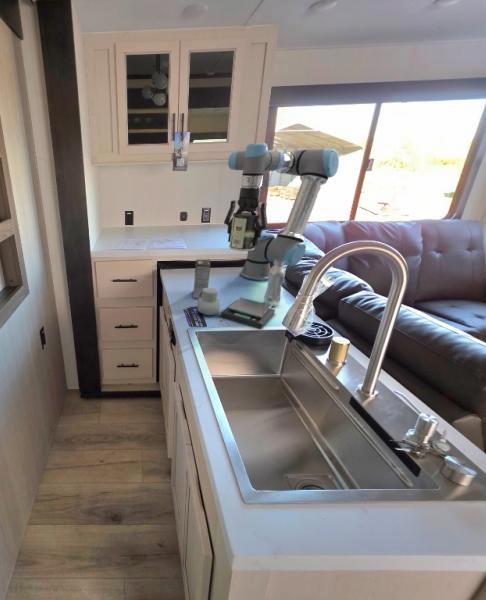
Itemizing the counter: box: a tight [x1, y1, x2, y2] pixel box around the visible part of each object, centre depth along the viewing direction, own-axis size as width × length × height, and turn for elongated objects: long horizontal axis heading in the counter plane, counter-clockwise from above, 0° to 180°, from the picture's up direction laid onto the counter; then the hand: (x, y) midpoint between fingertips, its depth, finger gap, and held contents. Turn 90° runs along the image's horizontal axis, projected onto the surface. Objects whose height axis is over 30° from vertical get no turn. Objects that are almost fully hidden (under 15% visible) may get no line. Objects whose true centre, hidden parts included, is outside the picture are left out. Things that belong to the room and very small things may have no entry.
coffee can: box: [228, 211, 261, 252], centre depth 130 cm, size 10×10×14 cm
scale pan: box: [227, 297, 273, 319], centre depth 127 cm, size 13×13×1 cm
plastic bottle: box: [263, 259, 286, 307], centre depth 133 cm, size 6×7×20 cm
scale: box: [220, 299, 276, 330], centre depth 127 cm, size 16×16×2 cm
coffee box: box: [192, 259, 211, 300], centre depth 144 cm, size 9×6×16 cm
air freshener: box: [196, 287, 221, 316], centre depth 128 cm, size 11×8×10 cm
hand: (242, 243), depth 132 cm, fingers closed on coffee can, 10 cm apart
